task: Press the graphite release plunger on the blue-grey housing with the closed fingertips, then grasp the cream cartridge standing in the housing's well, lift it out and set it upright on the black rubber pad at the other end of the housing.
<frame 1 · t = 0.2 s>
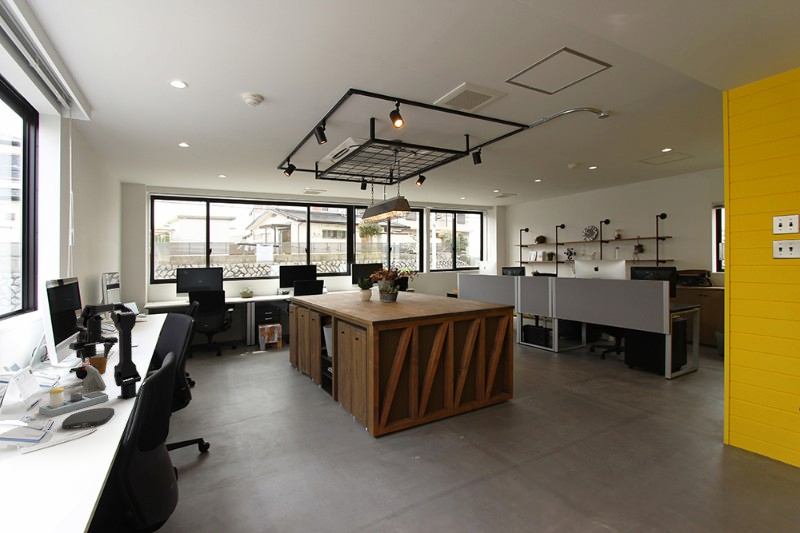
hand: (94, 360, 192), 14 cm above the table, fingers open, 9 cm apart
plunger: (76, 397, 169), point 4 cm above the table, slide at 0.0 cm
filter: (89, 381, 203), on the table
media streaming box: (89, 422, 154), on the table
disposable coffee cup: (98, 373, 217), on the table
housing: (75, 406, 169), on the table
pad: (94, 395, 175), resting on housing
grey triangular stone: (95, 388, 193), on the table
cartridge: (57, 411, 163), resting in housing
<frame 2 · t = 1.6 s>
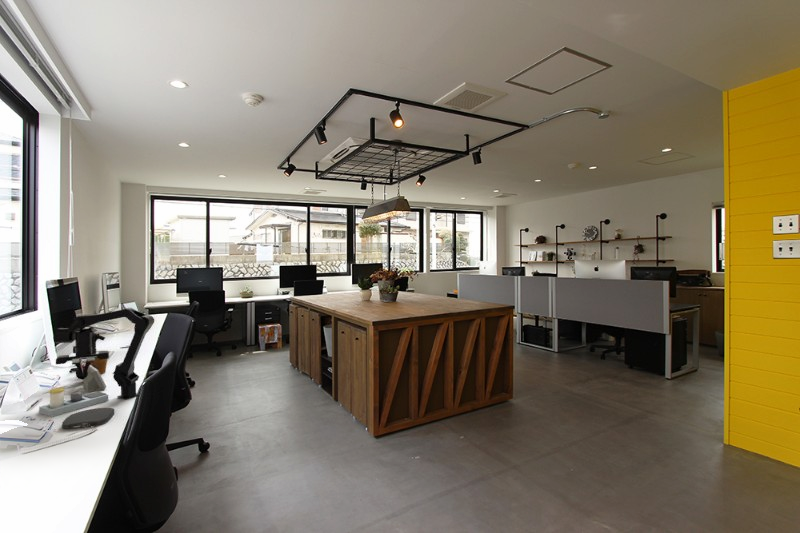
hand: (83, 375, 177), 11 cm above the table, fingers closed
nothing on the table moved.
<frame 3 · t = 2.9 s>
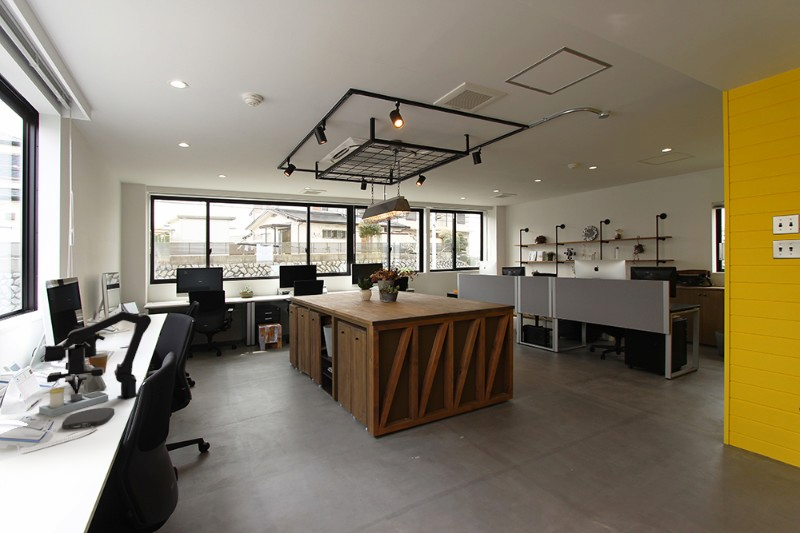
hand: (76, 393, 169), 5 cm above the table, fingers closed, pressing on plunger
plunger: (76, 397, 169), point 4 cm above the table, slide at 0.1 cm, touching gripper
everything else where it was.
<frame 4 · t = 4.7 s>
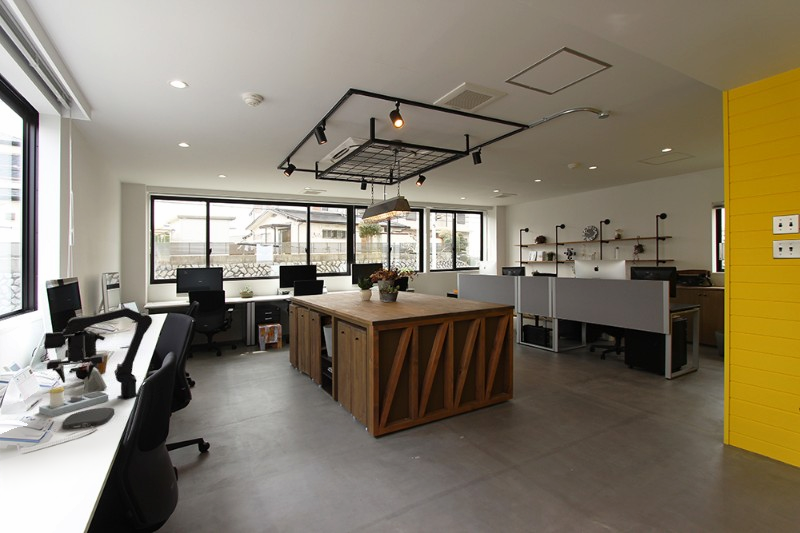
hand: (76, 381, 169), 11 cm above the table, fingers open, 8 cm apart
plunger: (76, 400, 169), point 2 cm above the table, slide at 1.5 cm
everything else where it was.
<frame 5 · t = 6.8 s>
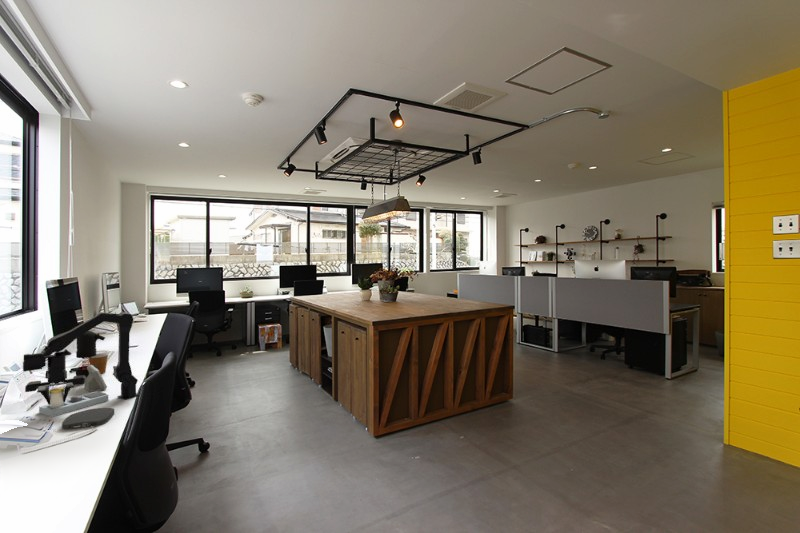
hand: (56, 403, 163), 4 cm above the table, fingers closed on cartridge, 4 cm apart
cartridge: (57, 411, 163), resting in housing, touching gripper
everything else where it was.
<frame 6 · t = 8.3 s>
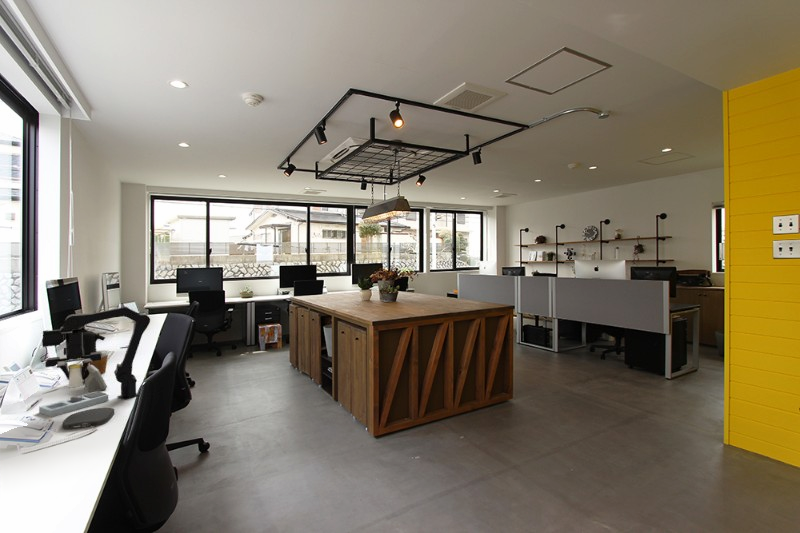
hand: (75, 378, 169), 12 cm above the table, fingers closed on cartridge, 4 cm apart
cartridge: (75, 386, 169), point 9 cm above the table, touching gripper
everything else where it was.
when the fingers open (8 cm above the table, at t = 9.9 s): cartridge drops 2 cm, resting on pad.
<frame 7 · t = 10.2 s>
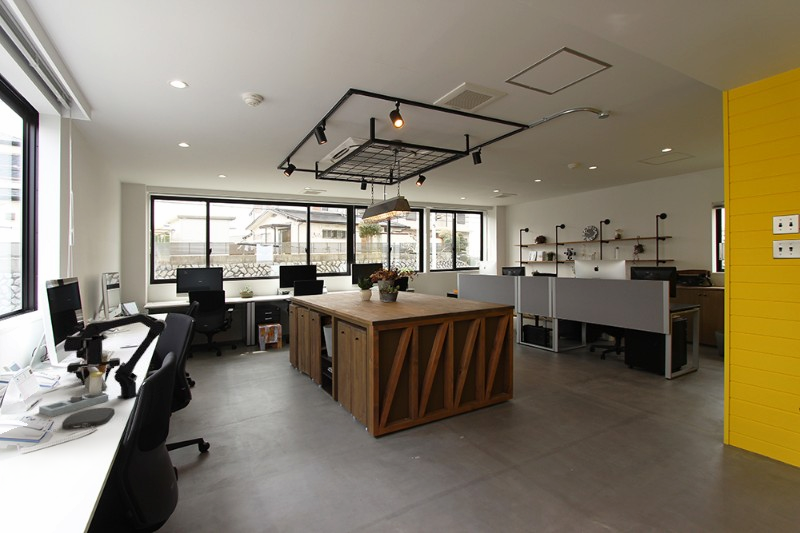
hand: (94, 383, 175), 8 cm above the table, fingers open, 7 cm apart
cartridge: (95, 394, 176), point 3 cm above the table, touching pad
everything else where it was.
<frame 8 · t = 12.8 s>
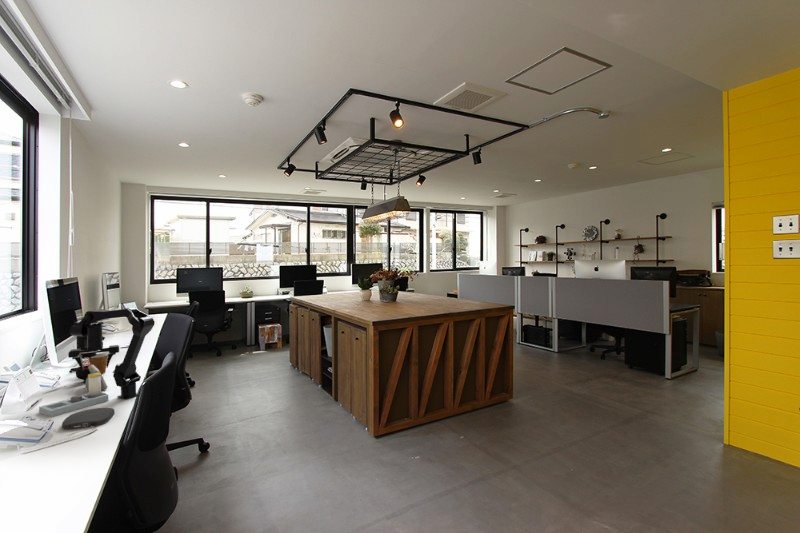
hand: (95, 369, 182), 12 cm above the table, fingers open, 9 cm apart
nothing on the table moved.
at the end: plunger slide at 1.5 cm; cartridge inside the target area on the pad (0.1 cm from its centre), point 0.3 cm above the pad's base; cartridge tilted 1° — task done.
